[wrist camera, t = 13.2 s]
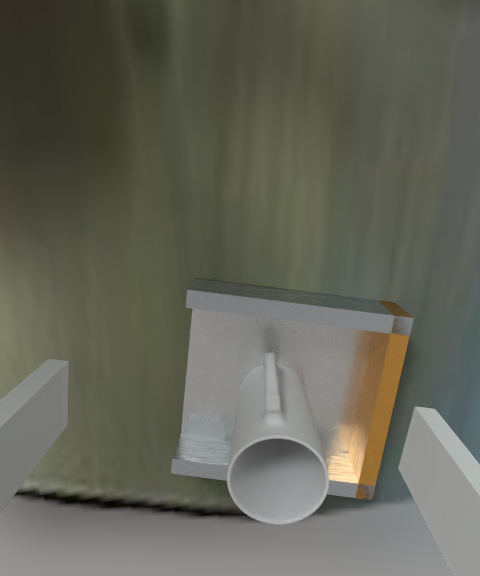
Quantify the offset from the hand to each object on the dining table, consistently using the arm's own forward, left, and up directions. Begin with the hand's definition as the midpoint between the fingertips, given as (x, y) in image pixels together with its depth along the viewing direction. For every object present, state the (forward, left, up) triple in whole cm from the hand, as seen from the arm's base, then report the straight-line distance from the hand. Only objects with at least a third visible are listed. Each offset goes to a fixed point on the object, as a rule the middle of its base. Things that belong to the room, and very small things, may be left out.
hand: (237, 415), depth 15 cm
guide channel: (+4, -8, -22) cm, 23 cm away
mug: (+3, -8, -21) cm, 23 cm away
